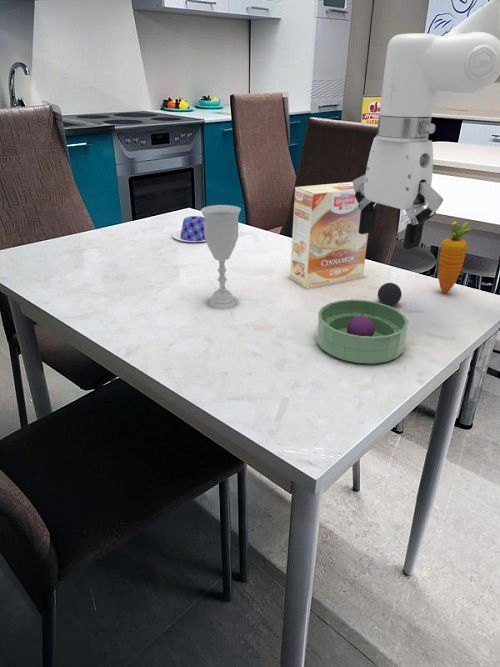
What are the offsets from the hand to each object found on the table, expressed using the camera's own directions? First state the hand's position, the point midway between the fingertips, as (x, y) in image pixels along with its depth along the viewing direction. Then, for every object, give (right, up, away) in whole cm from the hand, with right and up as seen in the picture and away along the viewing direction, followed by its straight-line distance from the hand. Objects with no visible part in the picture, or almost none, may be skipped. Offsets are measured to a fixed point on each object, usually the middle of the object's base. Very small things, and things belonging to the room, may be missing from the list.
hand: (387, 239), depth 84 cm
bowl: (-5, -17, -1) cm, 18 cm away
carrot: (+17, -8, +19) cm, 26 cm away
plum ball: (-5, -17, -1) cm, 18 cm away
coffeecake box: (-6, -4, +26) cm, 27 cm away
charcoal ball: (+4, -10, +14) cm, 17 cm away
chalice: (-28, -10, +13) cm, 33 cm away
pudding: (-37, +10, +51) cm, 64 cm away
